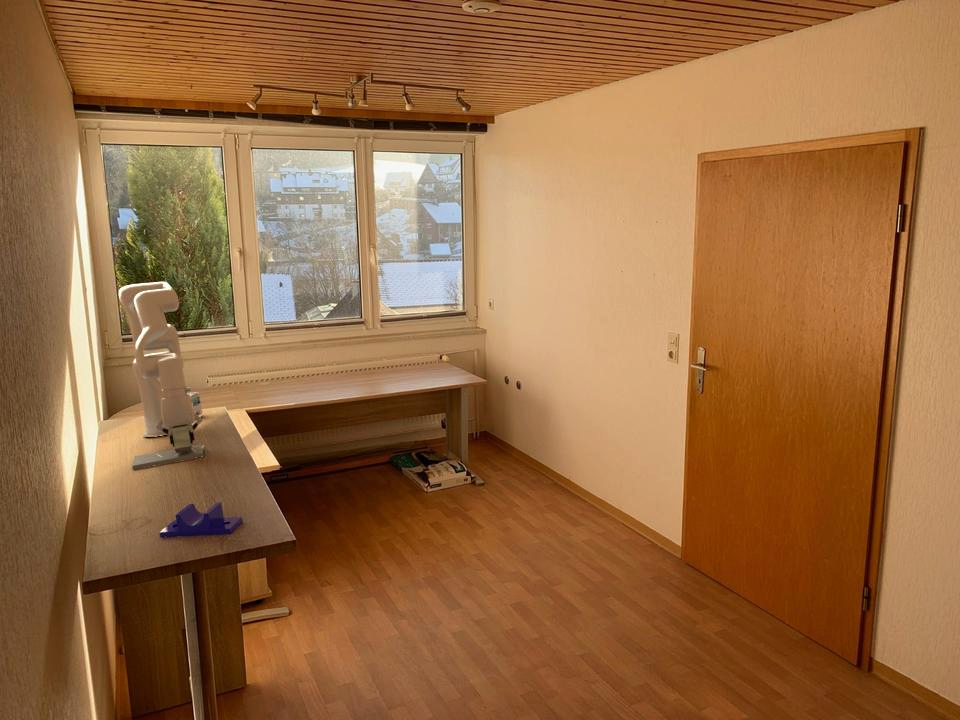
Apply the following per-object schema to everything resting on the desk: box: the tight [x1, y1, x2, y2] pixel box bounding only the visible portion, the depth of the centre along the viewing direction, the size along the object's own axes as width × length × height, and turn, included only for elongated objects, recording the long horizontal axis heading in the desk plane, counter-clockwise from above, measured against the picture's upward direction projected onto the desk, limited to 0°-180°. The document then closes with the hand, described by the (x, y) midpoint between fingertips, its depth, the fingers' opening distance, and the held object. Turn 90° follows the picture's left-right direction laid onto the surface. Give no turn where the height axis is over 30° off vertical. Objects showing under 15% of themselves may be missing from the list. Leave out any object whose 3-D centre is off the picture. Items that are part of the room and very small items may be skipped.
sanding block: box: [172, 425, 192, 453], centre depth 244 cm, size 9×5×8 cm, turn 22°
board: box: [131, 444, 205, 471], centre depth 243 cm, size 12×23×2 cm, turn 112°
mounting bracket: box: [159, 501, 244, 538], centre depth 177 cm, size 18×7×6 cm, turn 85°
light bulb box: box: [187, 391, 203, 416], centre depth 300 cm, size 11×7×11 cm, turn 84°
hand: (182, 443), depth 244 cm, fingers closed on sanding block, 4 cm apart
